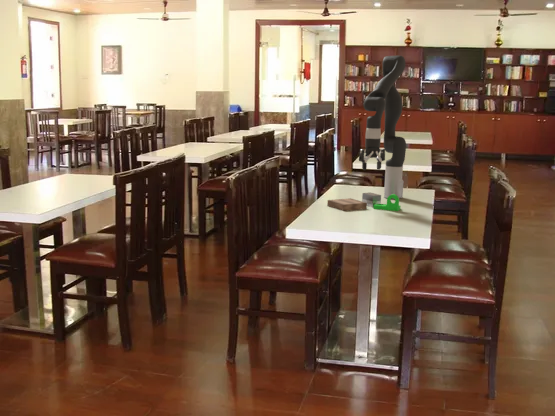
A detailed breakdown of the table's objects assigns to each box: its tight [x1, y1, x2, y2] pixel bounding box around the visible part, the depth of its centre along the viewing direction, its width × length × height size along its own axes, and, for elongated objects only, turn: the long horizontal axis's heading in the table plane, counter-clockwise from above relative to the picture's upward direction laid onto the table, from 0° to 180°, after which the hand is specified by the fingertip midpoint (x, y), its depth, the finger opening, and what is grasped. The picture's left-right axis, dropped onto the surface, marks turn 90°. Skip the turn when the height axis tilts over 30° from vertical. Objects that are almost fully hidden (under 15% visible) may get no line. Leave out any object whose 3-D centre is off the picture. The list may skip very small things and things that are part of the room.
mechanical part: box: [373, 194, 401, 212], centre depth 311 cm, size 12×6×8 cm, turn 66°
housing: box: [361, 192, 382, 208], centre depth 320 cm, size 5×9×6 cm, turn 28°
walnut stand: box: [326, 197, 368, 212], centre depth 313 cm, size 14×14×3 cm
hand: (371, 169), depth 318 cm, fingers open, 8 cm apart
